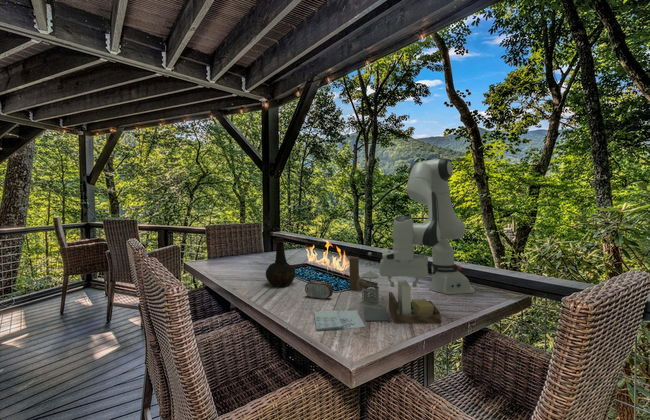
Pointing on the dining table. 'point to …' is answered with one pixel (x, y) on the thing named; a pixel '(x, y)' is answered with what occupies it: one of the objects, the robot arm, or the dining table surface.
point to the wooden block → (355, 274)
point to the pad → (376, 315)
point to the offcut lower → (419, 313)
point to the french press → (370, 290)
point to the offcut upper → (422, 306)
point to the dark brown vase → (280, 267)
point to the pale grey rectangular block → (404, 297)
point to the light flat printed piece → (338, 320)
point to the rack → (412, 317)
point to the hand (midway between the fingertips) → (403, 286)
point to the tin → (318, 289)
